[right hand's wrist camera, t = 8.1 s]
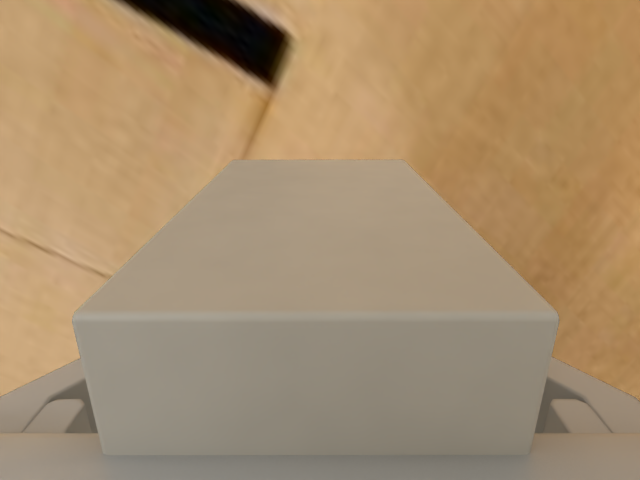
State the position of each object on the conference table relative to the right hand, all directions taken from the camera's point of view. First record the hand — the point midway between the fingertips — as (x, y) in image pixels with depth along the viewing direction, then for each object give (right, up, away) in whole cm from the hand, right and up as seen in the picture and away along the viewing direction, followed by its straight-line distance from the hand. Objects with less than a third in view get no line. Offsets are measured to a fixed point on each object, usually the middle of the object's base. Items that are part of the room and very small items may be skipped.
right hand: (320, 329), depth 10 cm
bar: (0, -7, +6) cm, 9 cm away
